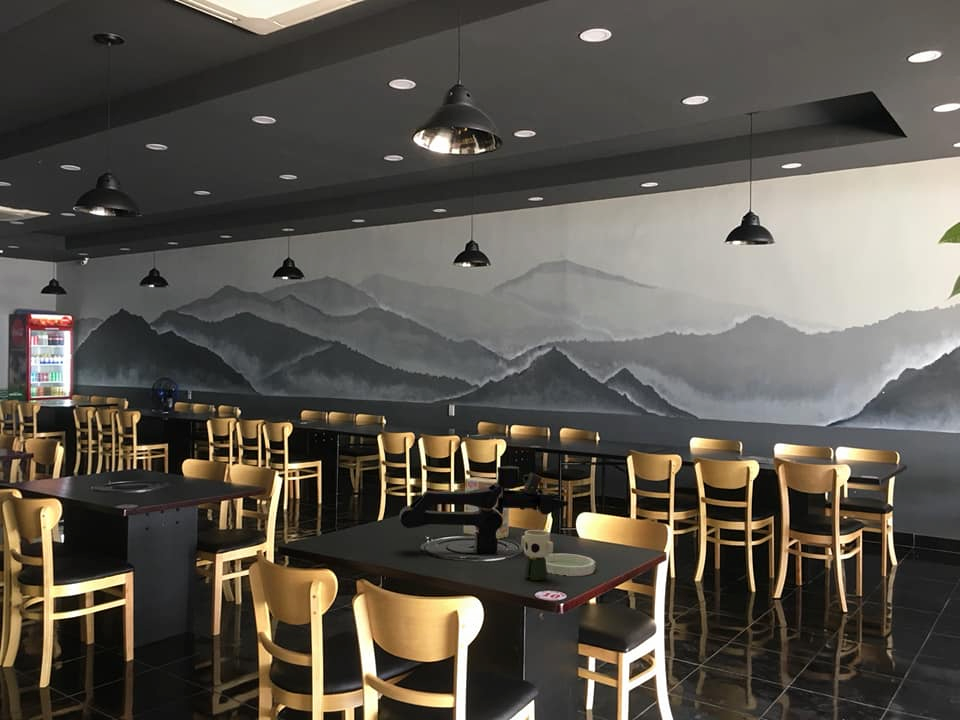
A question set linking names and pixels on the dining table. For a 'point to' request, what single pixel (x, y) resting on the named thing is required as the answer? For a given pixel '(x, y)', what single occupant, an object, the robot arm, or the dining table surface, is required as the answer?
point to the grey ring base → (569, 564)
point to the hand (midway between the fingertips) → (564, 501)
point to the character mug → (536, 553)
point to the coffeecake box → (469, 486)
